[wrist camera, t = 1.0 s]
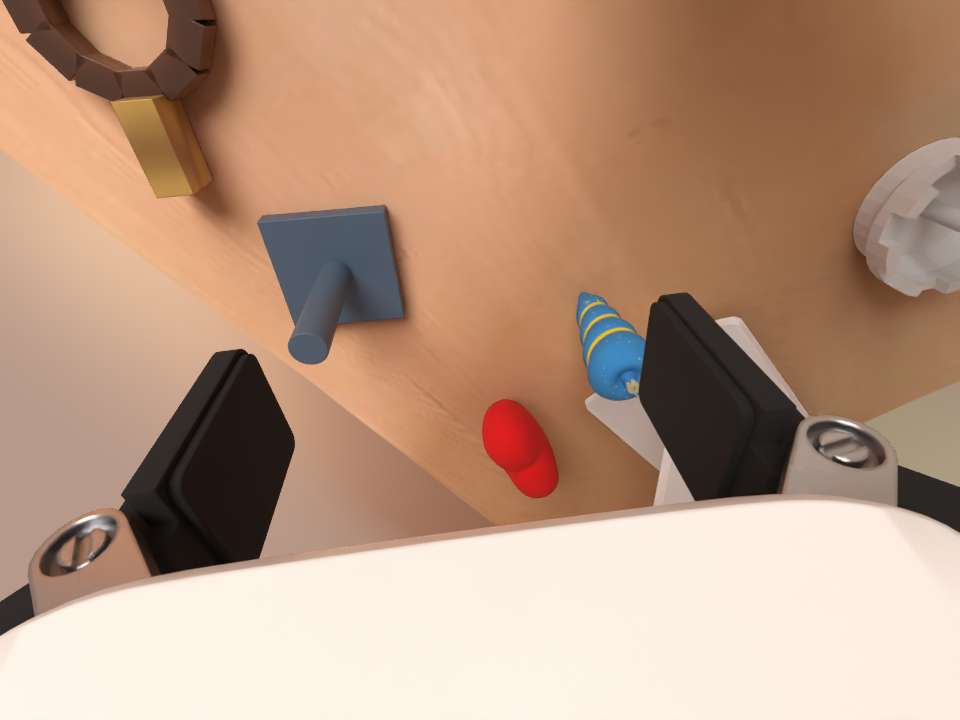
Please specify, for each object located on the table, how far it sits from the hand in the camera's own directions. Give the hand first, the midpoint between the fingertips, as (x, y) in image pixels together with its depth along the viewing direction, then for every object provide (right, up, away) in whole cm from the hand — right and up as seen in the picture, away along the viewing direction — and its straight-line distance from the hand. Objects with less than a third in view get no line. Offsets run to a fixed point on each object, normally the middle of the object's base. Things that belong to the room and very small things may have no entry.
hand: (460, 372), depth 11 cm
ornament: (+10, +7, +33) cm, 35 cm away
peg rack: (-12, +8, +29) cm, 33 cm away
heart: (+4, -5, +41) cm, 42 cm away
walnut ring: (-22, +21, +19) cm, 36 cm away
